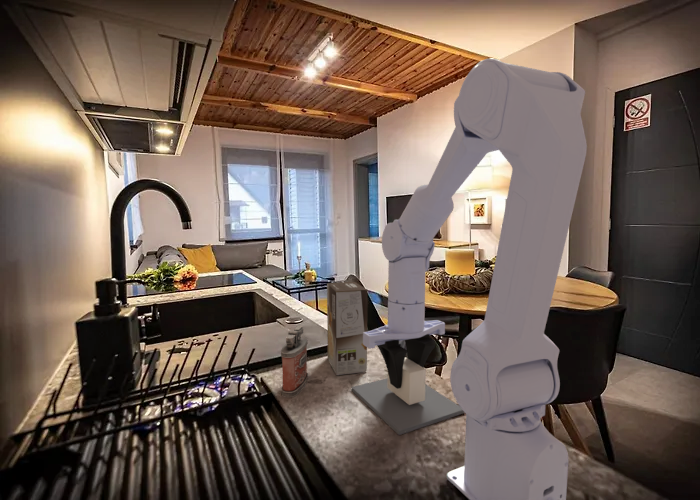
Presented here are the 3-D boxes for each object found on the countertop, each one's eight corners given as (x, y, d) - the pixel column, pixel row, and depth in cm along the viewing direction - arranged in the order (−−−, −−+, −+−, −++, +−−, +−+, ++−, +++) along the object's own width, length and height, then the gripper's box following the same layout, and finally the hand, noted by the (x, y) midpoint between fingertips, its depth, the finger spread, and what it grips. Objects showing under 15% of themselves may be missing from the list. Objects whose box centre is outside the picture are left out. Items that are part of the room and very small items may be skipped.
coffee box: (368, 372, 68) (369, 289, 66) (335, 376, 66) (335, 291, 65) (355, 354, 77) (355, 281, 75) (326, 357, 75) (325, 282, 73)
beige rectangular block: (402, 383, 60) (402, 355, 60) (425, 400, 55) (425, 369, 54) (387, 387, 59) (387, 358, 58) (409, 404, 54) (409, 373, 53)
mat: (464, 413, 54) (464, 409, 54) (398, 435, 48) (399, 431, 48) (408, 376, 66) (408, 373, 66) (351, 390, 61) (351, 387, 61)
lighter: (296, 398, 58) (295, 338, 57) (277, 396, 59) (276, 337, 58) (311, 376, 66) (311, 324, 65) (294, 374, 67) (293, 322, 66)
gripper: (426, 290, 63) (424, 365, 64) (353, 299, 56) (353, 382, 57) (455, 299, 56) (452, 381, 58) (377, 310, 50) (376, 402, 51)
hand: (404, 383), depth 57 cm, fingers closed on beige rectangular block, 3 cm apart
